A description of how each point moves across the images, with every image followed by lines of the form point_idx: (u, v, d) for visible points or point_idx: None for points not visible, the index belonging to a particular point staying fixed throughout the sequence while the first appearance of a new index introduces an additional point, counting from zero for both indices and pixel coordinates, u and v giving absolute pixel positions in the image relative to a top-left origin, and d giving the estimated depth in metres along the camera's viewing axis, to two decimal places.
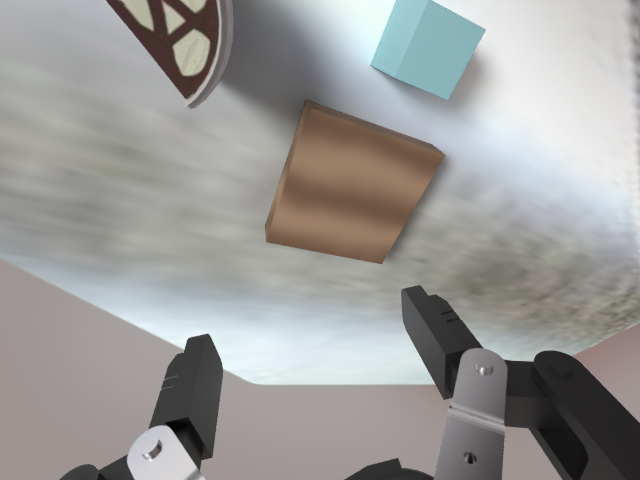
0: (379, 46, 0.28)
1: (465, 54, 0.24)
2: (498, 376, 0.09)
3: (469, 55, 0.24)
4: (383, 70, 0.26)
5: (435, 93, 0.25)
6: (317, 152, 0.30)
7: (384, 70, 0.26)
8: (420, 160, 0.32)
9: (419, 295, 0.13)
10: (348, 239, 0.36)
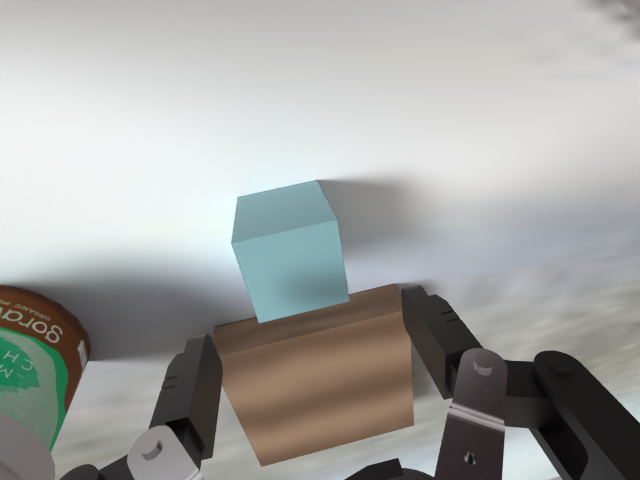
0: None
1: (331, 254, 0.16)
2: (498, 376, 0.09)
3: (338, 252, 0.16)
4: None
5: (326, 305, 0.18)
6: (249, 383, 0.24)
7: None
8: (380, 329, 0.23)
9: (419, 295, 0.13)
10: (353, 425, 0.28)
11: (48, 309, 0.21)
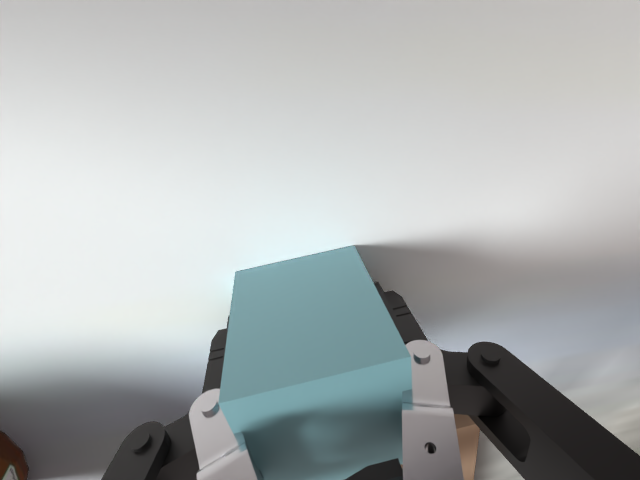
0: None
1: (394, 405, 0.09)
2: (433, 365, 0.10)
3: None
4: None
5: None
6: None
7: None
8: None
9: None
10: None
11: None
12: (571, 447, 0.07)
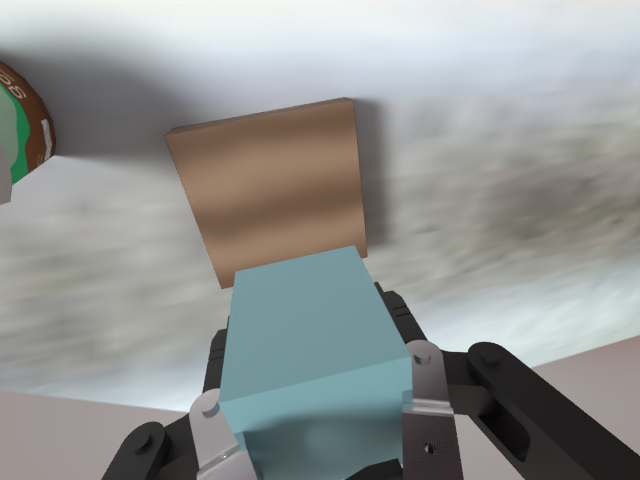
0: None
1: (394, 405, 0.09)
2: (433, 365, 0.10)
3: None
4: None
5: None
6: (204, 175, 0.25)
7: None
8: (326, 123, 0.25)
9: None
10: (308, 248, 0.30)
11: (13, 75, 0.22)
12: (571, 447, 0.07)
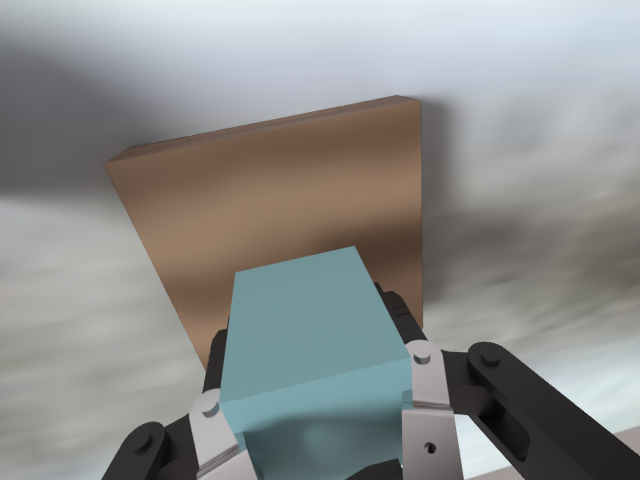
0: None
1: (394, 406, 0.09)
2: (433, 365, 0.10)
3: None
4: None
5: None
6: (176, 224, 0.16)
7: None
8: (374, 137, 0.15)
9: None
10: None
11: None
12: (571, 447, 0.07)
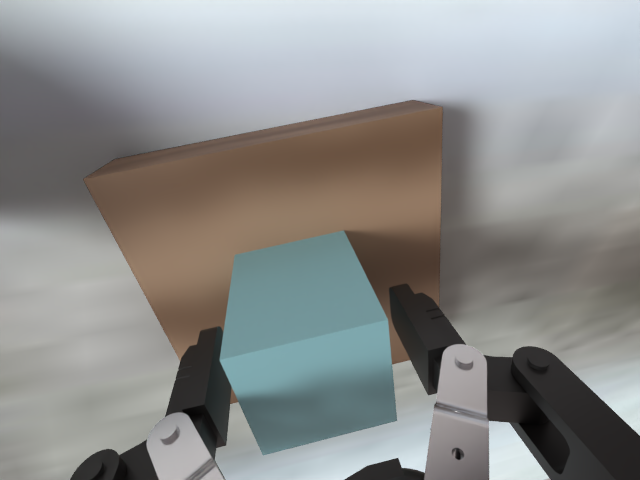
0: None
1: (375, 366, 0.11)
2: (477, 371, 0.09)
3: (385, 362, 0.11)
4: None
5: (362, 428, 0.12)
6: (166, 245, 0.14)
7: None
8: (390, 148, 0.14)
9: (405, 293, 0.13)
10: None
11: None
12: (614, 466, 0.07)
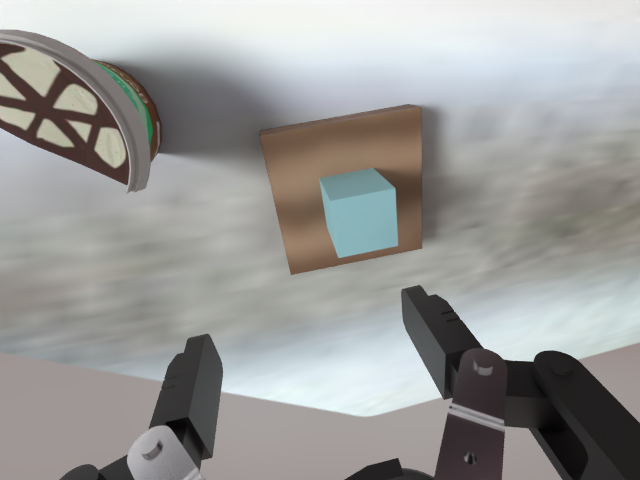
0: (325, 214, 0.31)
1: (389, 211, 0.26)
2: (498, 376, 0.09)
3: (393, 210, 0.26)
4: (333, 242, 0.29)
5: (382, 248, 0.27)
6: (288, 171, 0.29)
7: (333, 243, 0.29)
8: (396, 126, 0.29)
9: (419, 295, 0.13)
10: None
11: (137, 84, 0.27)
12: (634, 476, 0.07)
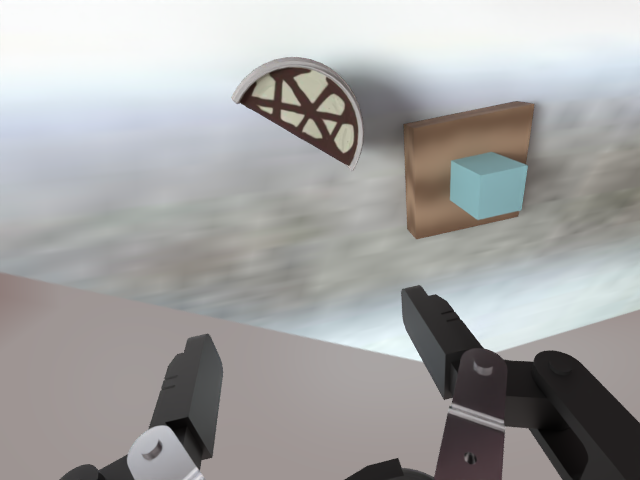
0: (452, 189, 0.40)
1: (520, 183, 0.34)
2: (498, 376, 0.09)
3: (523, 182, 0.34)
4: (464, 210, 0.38)
5: (510, 211, 0.36)
6: (429, 155, 0.38)
7: (465, 210, 0.38)
8: (514, 118, 0.37)
9: (419, 295, 0.13)
10: None
11: None
12: (634, 477, 0.07)
